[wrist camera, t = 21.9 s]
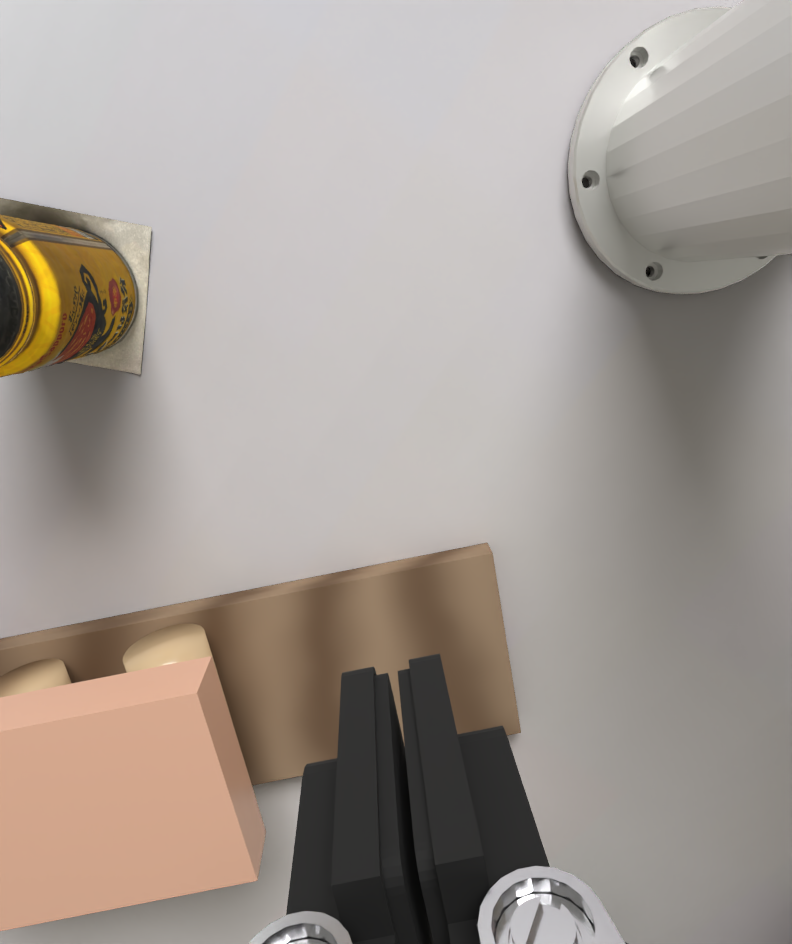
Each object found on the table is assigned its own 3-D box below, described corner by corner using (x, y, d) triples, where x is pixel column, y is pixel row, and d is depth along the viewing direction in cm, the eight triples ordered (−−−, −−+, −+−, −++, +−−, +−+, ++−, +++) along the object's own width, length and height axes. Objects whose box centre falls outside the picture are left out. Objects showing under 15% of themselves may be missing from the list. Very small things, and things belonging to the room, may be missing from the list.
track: (487, 542, 37) (517, 604, 30) (515, 716, 40) (548, 809, 33) (-75, 653, 37) (-179, 741, 30) (0, 817, 40) (-78, 932, 33)
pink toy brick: (228, 614, 36) (196, 692, 29) (275, 775, 39) (257, 880, 32) (-55, 670, 36) (-154, 761, 29) (15, 826, 39) (-60, 943, 32)
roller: (79, 654, 36) (34, 700, 32) (132, 798, 38) (98, 856, 35) (13, 663, 36) (-38, 709, 32) (71, 804, 39) (30, 862, 35)
